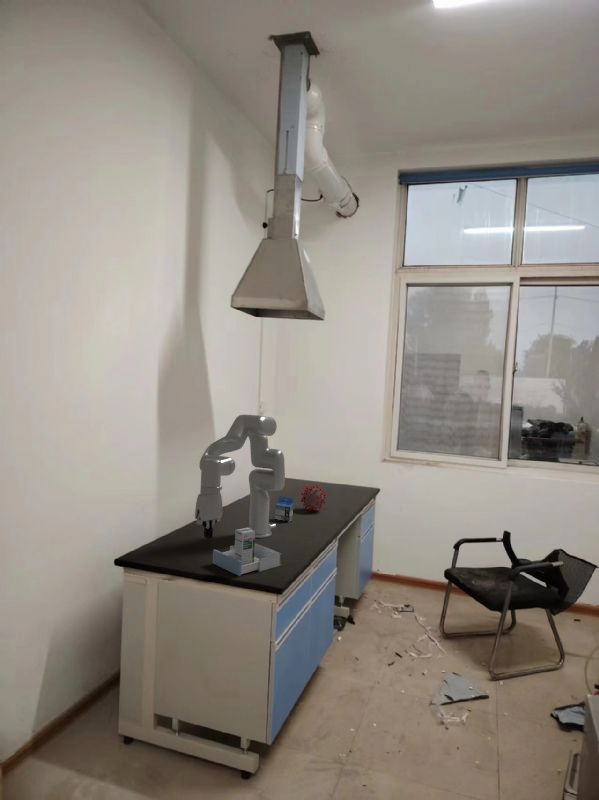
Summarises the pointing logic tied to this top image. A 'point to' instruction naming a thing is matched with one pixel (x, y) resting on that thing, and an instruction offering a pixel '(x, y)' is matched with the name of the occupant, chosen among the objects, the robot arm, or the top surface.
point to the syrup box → (244, 545)
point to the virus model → (313, 498)
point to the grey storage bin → (265, 557)
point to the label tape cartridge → (284, 509)
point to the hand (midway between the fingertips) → (208, 537)
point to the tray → (233, 562)
